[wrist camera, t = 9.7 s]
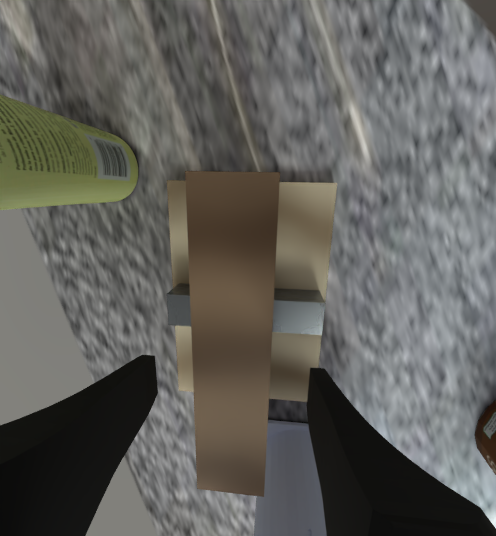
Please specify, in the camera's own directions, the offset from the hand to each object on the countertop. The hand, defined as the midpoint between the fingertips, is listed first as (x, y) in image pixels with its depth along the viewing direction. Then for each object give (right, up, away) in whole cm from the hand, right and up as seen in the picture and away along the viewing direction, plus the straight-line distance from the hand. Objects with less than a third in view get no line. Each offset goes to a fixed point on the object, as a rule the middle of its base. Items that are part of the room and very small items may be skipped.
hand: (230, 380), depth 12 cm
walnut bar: (+1, +2, +7) cm, 7 cm away
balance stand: (+1, +3, +10) cm, 10 cm away
